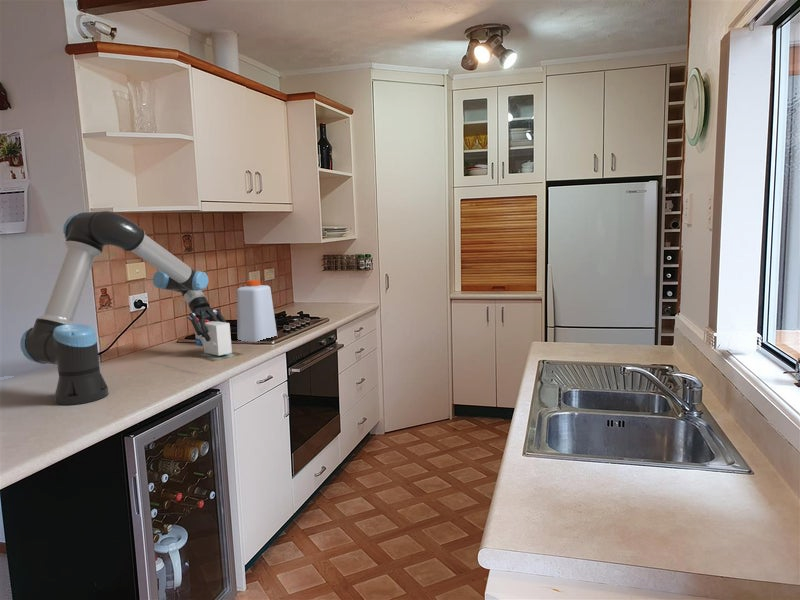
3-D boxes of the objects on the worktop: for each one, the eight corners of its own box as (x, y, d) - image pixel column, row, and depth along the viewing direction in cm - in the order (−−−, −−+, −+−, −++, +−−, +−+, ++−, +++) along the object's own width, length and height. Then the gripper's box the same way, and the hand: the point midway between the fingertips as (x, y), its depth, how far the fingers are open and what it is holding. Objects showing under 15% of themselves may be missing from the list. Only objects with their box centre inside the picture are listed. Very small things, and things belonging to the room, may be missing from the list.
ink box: (195, 345, 266) (192, 313, 264) (203, 342, 271) (201, 311, 269) (209, 346, 262) (206, 313, 260) (217, 344, 267) (214, 311, 265)
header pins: (221, 356, 236) (220, 350, 236) (212, 354, 240) (212, 348, 240) (223, 355, 237) (222, 349, 236) (215, 353, 241) (214, 347, 240)
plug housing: (218, 355, 233) (216, 325, 231) (203, 352, 240) (201, 323, 238) (231, 352, 237) (229, 323, 235) (217, 349, 244) (214, 320, 243)
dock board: (213, 364, 228) (213, 361, 228) (192, 359, 239) (191, 356, 239) (244, 357, 239) (244, 354, 238) (222, 352, 249) (222, 349, 249)
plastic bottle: (262, 345, 260) (257, 282, 256) (233, 344, 265) (228, 282, 261) (281, 338, 273) (276, 278, 269) (253, 337, 279) (249, 278, 275)
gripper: (214, 304, 253) (239, 346, 245) (172, 310, 239) (197, 355, 231) (220, 292, 249) (245, 334, 240) (178, 298, 235) (203, 343, 226)
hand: (222, 344), depth 235 cm, fingers closed on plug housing, 6 cm apart
